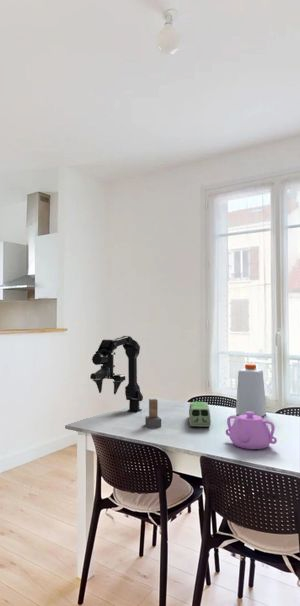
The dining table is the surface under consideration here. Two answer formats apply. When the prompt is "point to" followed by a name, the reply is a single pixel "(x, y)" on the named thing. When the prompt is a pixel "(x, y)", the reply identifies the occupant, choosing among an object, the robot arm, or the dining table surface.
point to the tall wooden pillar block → (153, 415)
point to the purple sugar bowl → (250, 431)
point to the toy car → (199, 414)
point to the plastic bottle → (250, 391)
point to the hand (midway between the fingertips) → (107, 393)
